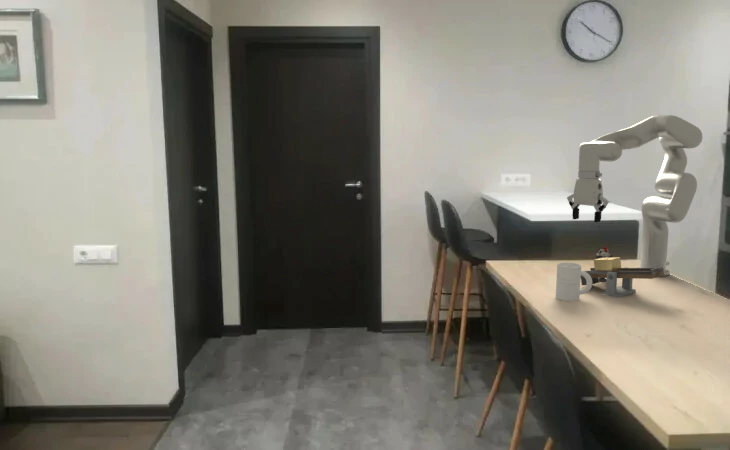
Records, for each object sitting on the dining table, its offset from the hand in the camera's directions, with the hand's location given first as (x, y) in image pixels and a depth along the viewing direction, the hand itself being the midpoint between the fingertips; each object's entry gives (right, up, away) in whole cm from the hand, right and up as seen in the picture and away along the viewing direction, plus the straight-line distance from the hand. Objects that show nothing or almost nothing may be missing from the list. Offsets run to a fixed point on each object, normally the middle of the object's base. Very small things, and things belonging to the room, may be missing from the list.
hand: (586, 220), depth 237 cm
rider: (+4, -19, -10) cm, 22 cm away
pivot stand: (+7, -26, -13) cm, 30 cm away
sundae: (+8, -24, +5) cm, 26 cm away
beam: (+8, -23, -14) cm, 28 cm away
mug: (-12, -28, -20) cm, 36 cm away
